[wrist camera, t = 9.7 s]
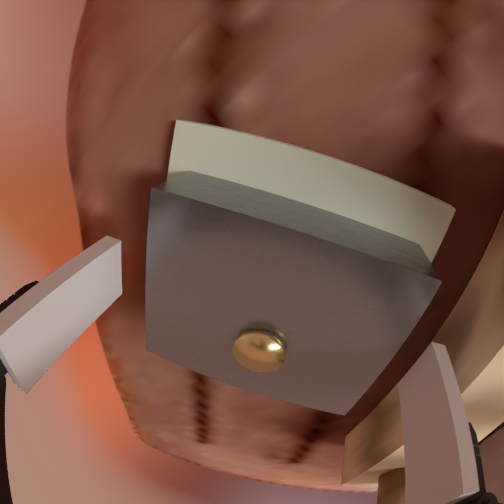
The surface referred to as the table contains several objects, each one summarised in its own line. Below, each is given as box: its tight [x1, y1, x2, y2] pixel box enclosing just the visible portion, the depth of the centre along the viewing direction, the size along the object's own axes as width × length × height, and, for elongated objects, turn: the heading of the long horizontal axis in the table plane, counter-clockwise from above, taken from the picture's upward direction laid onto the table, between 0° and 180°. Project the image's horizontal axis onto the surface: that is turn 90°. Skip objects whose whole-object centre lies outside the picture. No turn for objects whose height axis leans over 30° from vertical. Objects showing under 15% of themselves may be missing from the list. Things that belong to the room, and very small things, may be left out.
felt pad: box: [167, 120, 456, 263], centre depth 13 cm, size 12×12×1 cm
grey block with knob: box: [145, 171, 442, 416], centre depth 11 cm, size 8×10×3 cm
